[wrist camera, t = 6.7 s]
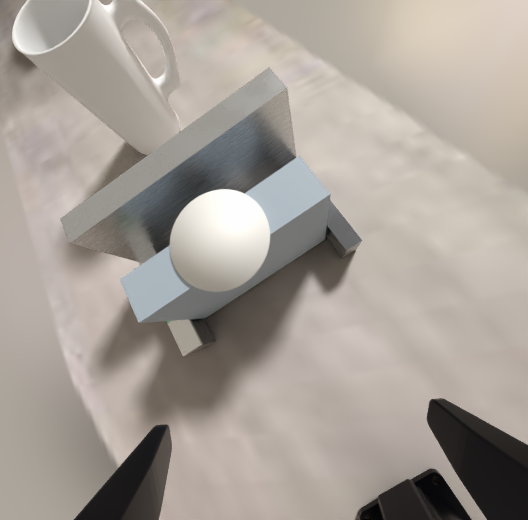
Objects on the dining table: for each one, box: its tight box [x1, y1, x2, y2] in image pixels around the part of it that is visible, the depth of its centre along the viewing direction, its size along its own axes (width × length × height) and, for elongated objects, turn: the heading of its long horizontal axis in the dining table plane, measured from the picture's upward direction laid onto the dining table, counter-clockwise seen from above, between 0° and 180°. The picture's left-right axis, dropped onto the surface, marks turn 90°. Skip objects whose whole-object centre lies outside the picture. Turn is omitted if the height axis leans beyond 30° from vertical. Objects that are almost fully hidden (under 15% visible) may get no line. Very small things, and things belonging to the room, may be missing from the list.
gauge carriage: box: [120, 156, 330, 323], centre depth 19 cm, size 6×15×9 cm, turn 122°
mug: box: [12, 0, 181, 155], centre depth 23 cm, size 10×7×12 cm, turn 122°
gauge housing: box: [60, 68, 362, 356], centre depth 19 cm, size 11×17×10 cm, turn 121°
